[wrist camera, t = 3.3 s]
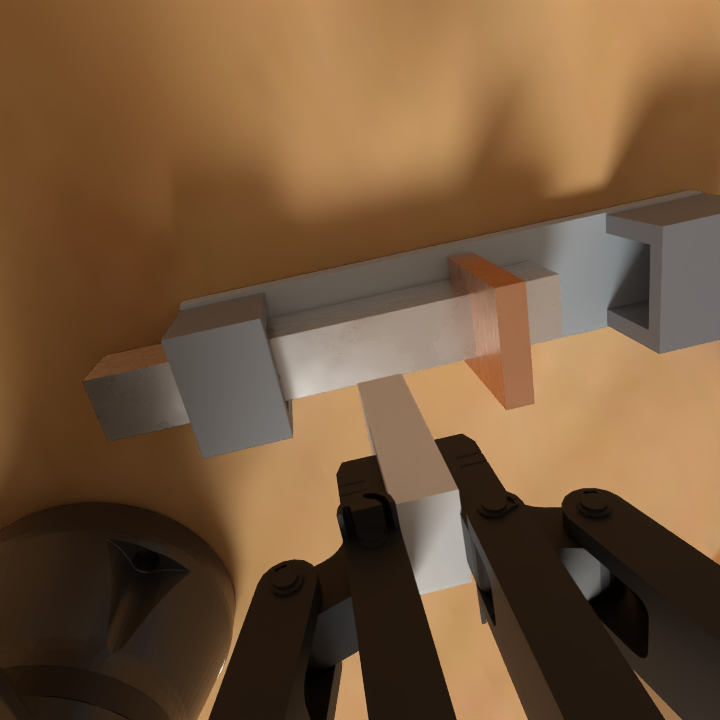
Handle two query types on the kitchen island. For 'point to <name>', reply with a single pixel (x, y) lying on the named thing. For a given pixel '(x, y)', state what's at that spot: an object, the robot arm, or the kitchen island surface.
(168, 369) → the long square rod
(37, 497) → the kitchen island surface
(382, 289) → the rail
